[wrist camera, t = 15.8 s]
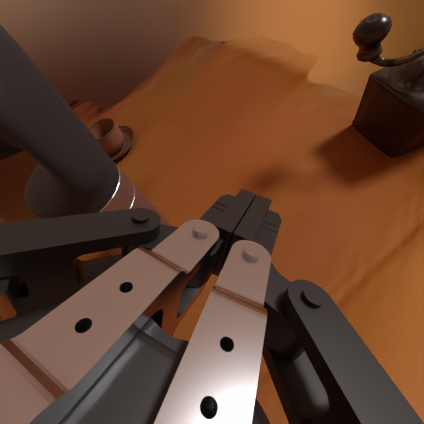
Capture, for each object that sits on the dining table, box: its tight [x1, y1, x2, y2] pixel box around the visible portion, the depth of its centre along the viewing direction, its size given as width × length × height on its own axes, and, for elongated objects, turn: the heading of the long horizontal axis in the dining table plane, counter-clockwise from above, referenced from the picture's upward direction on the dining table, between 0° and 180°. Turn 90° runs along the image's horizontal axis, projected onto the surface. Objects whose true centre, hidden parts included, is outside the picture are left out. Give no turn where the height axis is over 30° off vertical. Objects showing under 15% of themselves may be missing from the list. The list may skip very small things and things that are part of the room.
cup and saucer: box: [89, 118, 134, 161], centre depth 54 cm, size 12×12×6 cm
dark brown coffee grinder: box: [352, 13, 424, 158], centre depth 31 cm, size 16×11×18 cm
